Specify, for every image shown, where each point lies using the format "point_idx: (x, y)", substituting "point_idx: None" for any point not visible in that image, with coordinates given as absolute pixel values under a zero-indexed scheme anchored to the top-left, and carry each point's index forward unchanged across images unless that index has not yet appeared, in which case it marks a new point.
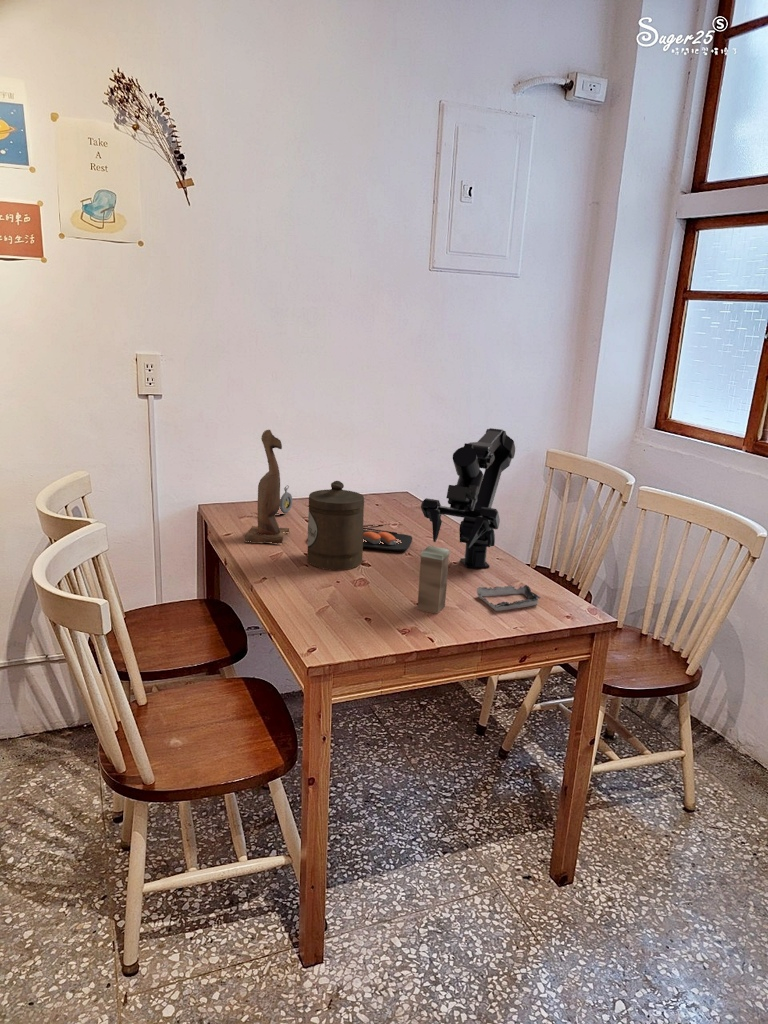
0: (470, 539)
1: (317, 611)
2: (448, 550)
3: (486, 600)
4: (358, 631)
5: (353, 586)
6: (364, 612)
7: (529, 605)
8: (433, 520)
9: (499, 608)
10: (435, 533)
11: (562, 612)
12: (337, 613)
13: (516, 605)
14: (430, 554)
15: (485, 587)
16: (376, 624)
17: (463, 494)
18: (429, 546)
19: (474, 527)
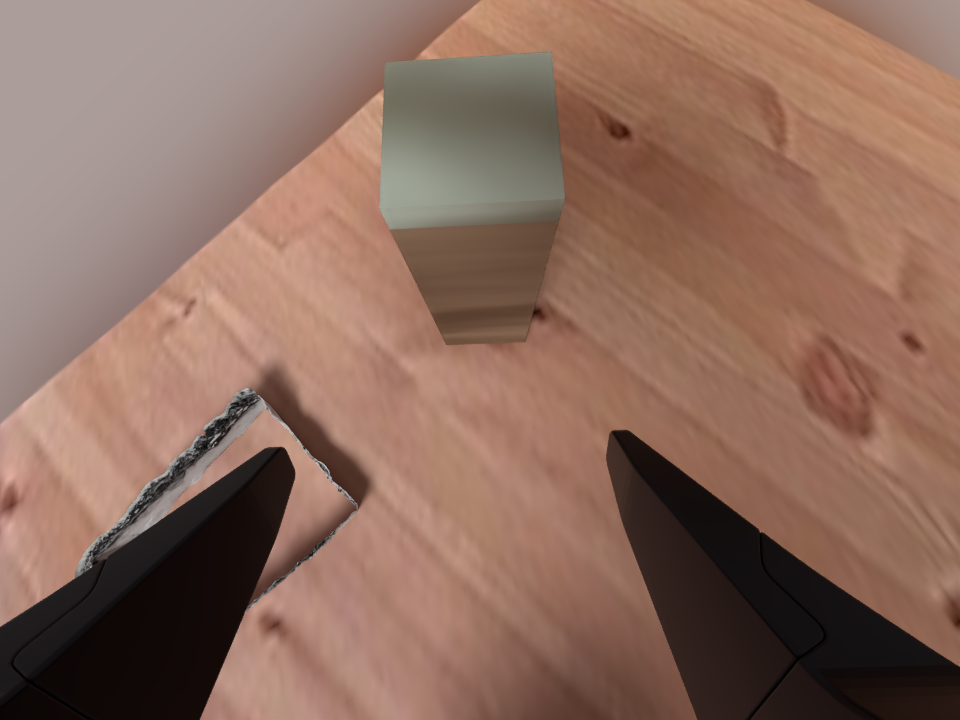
0: (220, 489)
1: (778, 100)
2: (380, 186)
3: (306, 450)
4: (598, 59)
5: (830, 333)
6: (655, 164)
7: (148, 526)
8: (867, 629)
9: (251, 416)
10: (648, 472)
11: (26, 535)
12: (719, 118)
13: (190, 475)
14: (477, 61)
15: (318, 544)
16: (579, 116)
17: None
18: (553, 186)
19: (39, 651)
